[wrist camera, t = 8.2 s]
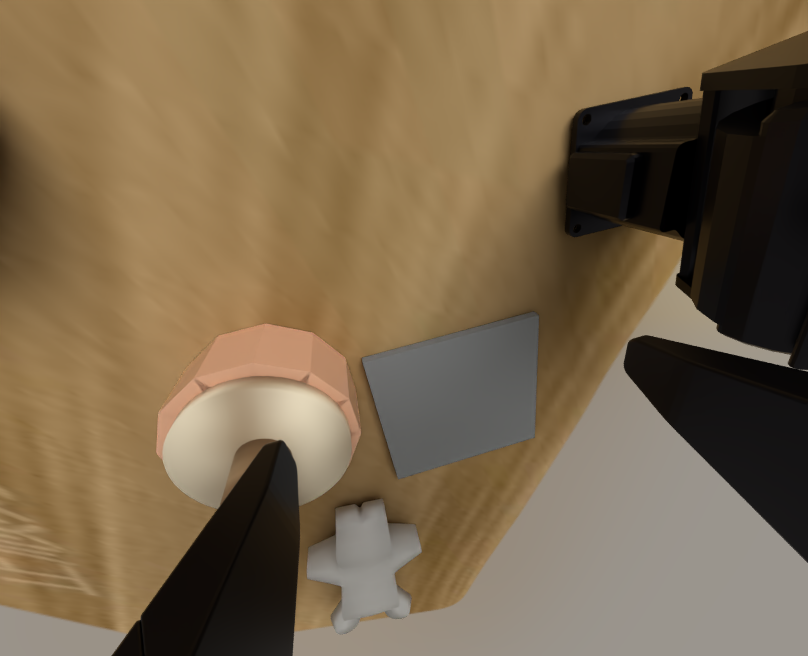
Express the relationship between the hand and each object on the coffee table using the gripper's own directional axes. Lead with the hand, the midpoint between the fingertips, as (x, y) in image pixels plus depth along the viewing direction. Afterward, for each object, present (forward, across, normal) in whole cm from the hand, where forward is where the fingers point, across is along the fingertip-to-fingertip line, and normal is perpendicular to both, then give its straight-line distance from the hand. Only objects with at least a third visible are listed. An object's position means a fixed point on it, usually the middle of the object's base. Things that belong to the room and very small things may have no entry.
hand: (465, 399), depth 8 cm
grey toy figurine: (+12, +8, +26) cm, 30 cm away
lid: (+8, +9, +7) cm, 14 cm away
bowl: (+12, +9, +7) cm, 17 cm away
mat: (+12, -3, +12) cm, 17 cm away
